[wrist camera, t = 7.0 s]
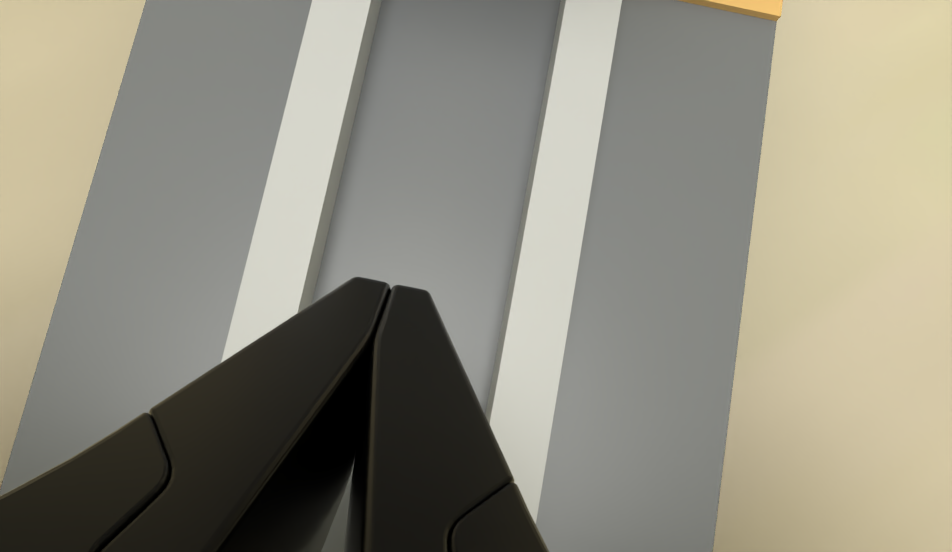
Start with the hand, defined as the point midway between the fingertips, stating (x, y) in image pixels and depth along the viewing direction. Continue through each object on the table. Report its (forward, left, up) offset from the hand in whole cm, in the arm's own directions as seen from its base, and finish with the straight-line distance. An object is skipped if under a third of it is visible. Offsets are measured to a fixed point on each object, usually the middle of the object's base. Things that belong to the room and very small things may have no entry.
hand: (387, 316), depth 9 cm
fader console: (+3, +2, -8) cm, 8 cm away
